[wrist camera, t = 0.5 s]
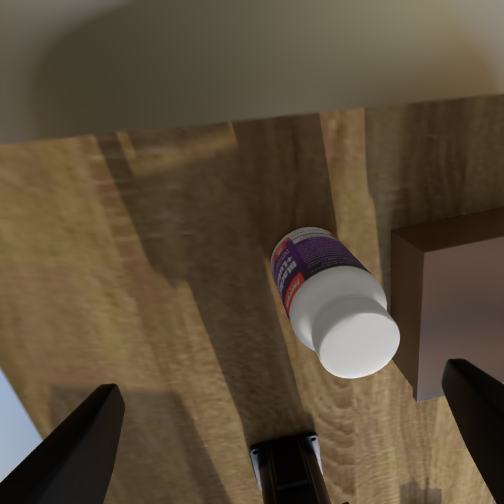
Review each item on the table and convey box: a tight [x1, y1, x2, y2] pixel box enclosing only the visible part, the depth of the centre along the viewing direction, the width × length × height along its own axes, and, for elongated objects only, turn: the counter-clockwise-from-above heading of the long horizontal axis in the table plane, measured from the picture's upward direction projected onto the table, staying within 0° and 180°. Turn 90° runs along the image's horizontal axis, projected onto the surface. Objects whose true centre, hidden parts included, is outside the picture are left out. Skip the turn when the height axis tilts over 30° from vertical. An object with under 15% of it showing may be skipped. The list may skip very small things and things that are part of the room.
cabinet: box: [391, 208, 504, 402], centre depth 25 cm, size 13×10×5 cm
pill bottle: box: [271, 227, 400, 378], centre depth 20 cm, size 5×5×10 cm
